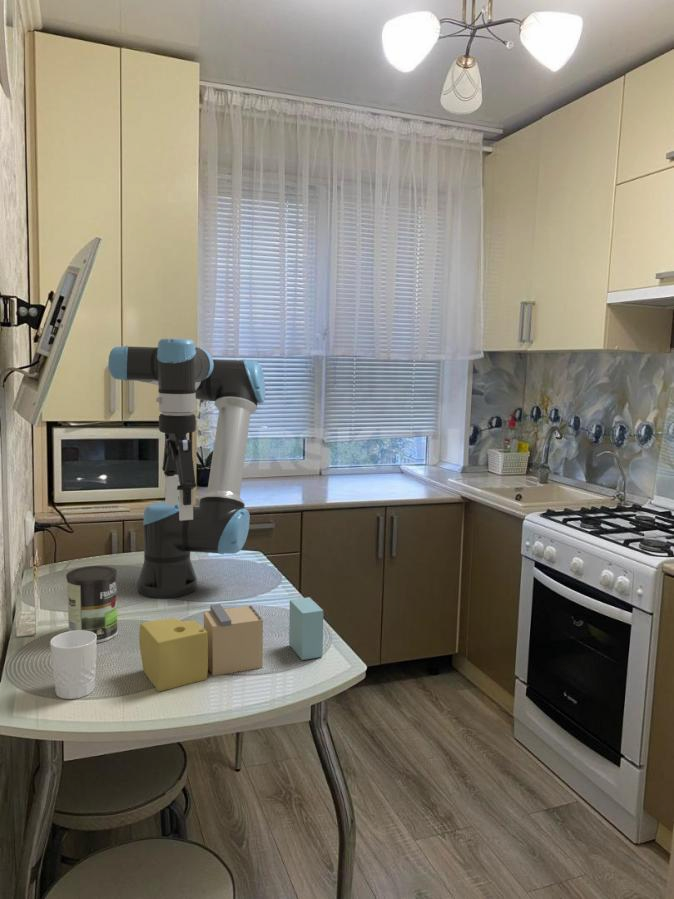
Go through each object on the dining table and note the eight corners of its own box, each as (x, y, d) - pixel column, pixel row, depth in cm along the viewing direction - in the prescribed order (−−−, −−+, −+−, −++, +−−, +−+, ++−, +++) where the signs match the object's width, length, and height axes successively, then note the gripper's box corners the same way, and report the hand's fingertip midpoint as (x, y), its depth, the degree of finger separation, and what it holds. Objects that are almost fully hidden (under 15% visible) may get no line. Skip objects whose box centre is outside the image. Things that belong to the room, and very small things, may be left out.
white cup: (91, 700, 122) (89, 647, 120) (45, 701, 121) (43, 648, 120) (102, 679, 129) (101, 629, 128) (60, 680, 129) (58, 630, 127)
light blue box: (289, 644, 146) (289, 599, 145) (308, 641, 148) (309, 597, 147) (302, 660, 139) (302, 613, 138) (322, 656, 141) (323, 610, 139)
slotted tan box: (203, 657, 140) (203, 606, 138) (250, 649, 144) (250, 600, 142) (213, 677, 131) (213, 622, 130) (263, 668, 135) (263, 616, 134)
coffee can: (126, 627, 154) (125, 567, 151) (102, 646, 144) (100, 582, 141) (85, 623, 156) (83, 563, 154) (58, 641, 146) (56, 578, 144)
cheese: (190, 659, 139) (189, 612, 138) (210, 681, 130) (210, 631, 129) (139, 671, 133) (138, 622, 132) (156, 694, 124) (156, 643, 123)
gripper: (147, 407, 152) (149, 500, 155) (172, 420, 130) (173, 528, 133) (181, 407, 155) (182, 497, 159) (210, 419, 133) (211, 524, 136)
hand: (178, 512), depth 146 cm, fingers open, 13 cm apart
